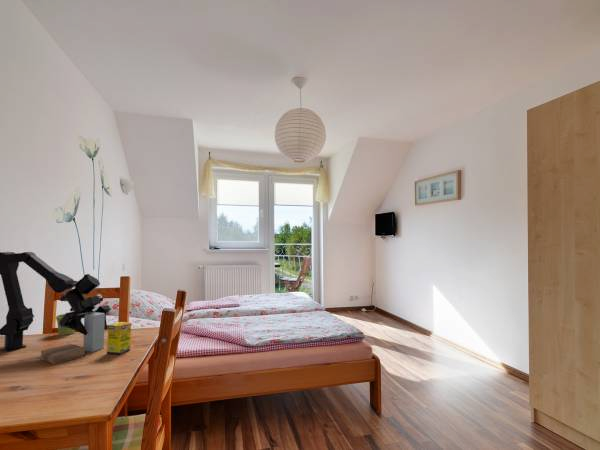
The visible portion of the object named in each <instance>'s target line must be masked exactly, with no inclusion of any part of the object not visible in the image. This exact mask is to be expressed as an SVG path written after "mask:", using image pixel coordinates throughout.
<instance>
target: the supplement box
mask: <svg viewBox="0 0 600 450" xmlns="http://www.w3.org/2000/svg"><path fill="white" fill-rule="evenodd" d="M131 329H132V322H130V321H129V322H128V321H127V322H126V321H117V322H114V323H113V324H112V323H111V324H107V341H106V342H107V345H106V354H109V355H122V354H124V353H126V352H129V351H130V350H131V333H132V332H131V331H132V330H131Z"/></svg>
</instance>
